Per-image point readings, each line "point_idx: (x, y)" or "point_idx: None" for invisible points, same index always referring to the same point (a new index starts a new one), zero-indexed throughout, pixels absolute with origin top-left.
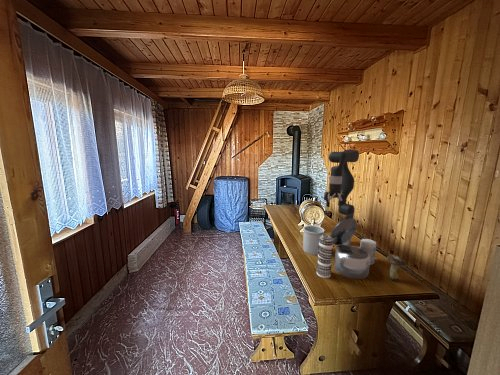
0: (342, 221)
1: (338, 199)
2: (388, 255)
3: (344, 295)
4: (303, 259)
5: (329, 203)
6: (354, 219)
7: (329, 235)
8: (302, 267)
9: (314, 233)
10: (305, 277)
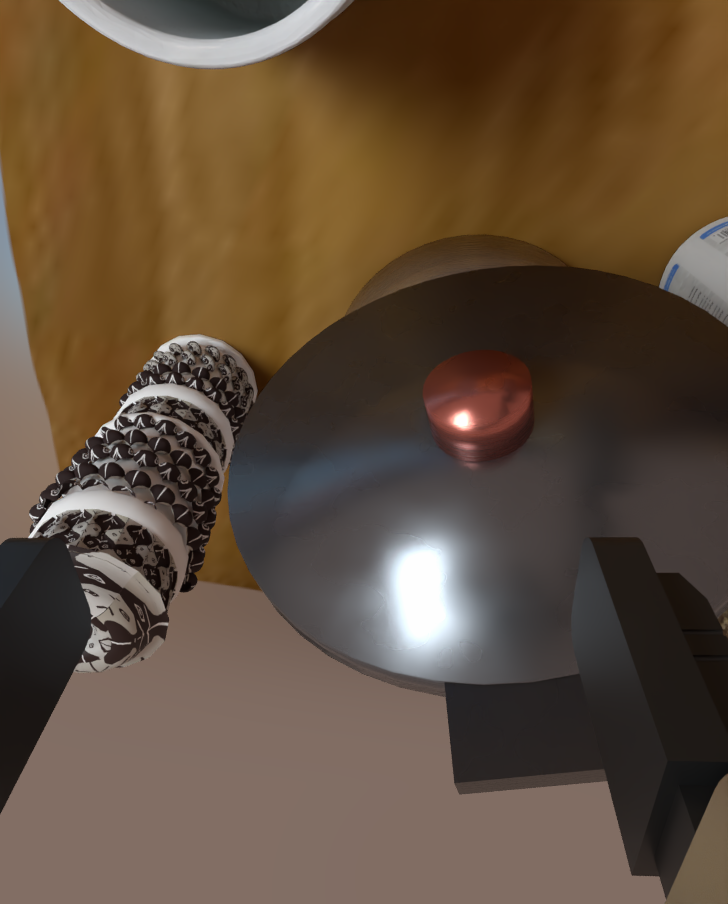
0: (360, 671)
1: (708, 808)
2: (721, 622)
3: (239, 580)
4: (88, 118)
5: (6, 769)
6: None
7: (110, 630)
8: (47, 266)
9: (131, 48)
10: (45, 399)
